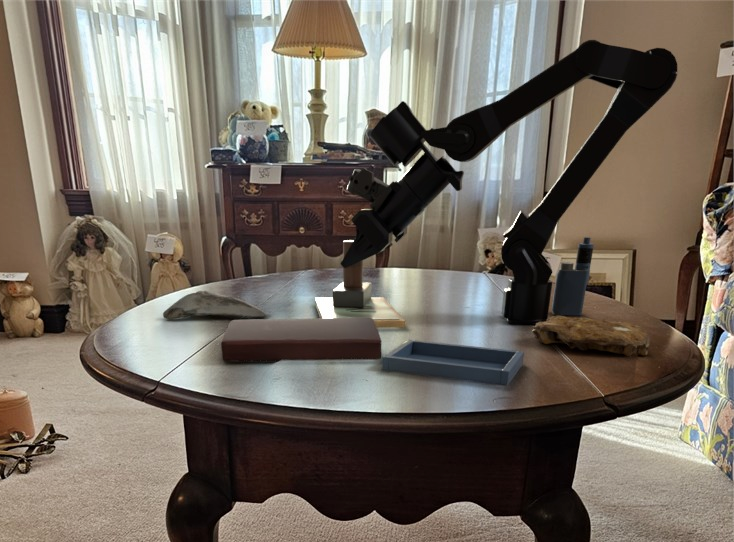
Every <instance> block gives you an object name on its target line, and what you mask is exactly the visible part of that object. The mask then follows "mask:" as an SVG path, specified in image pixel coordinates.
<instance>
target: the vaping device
mask: <svg viewBox="0 0 734 542" xmlns="http://www.w3.org/2000/svg"><path fill="white" fill-rule="evenodd" d="M591 239H592V238H591V237H583V241H582V242H580V243H578V246H577V253H576V259H575V263H574V262H569V261H568V262H567V261H566V262H565V261H563V262H562V261H561V262H560V267H559V268H558V271H557V272H556V275H555V283H554V290H553V296H552V304H551V311H552V315H553V316H565V317H568V316H569V317H576V316H577V317H578V316H583V315H582V313H583V308H584V302H585V296H586V290H587V285H588V284H589V280H590V273H591V265H592V258H593V252H594V248H595V247H594V246H595V244H594V243H591ZM574 264H575V265H574Z"/></svg>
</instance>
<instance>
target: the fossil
mask: <svg viewBox="0 0 734 542" xmlns="http://www.w3.org/2000/svg"><path fill="white" fill-rule="evenodd" d="M217 315H218V316H219V315H225V316H226V315H231V316H240V317H241V316H242V317H254V318H266V317H267V314H266V313H265V312H264V311H263V310H262V309H260V308H258V307H256V306H255V305H252V304H251V303H249V302H247V301H244V300H242V299H241V298H240V299H239V298H236V297H232V296H228V295H222V294H218V293H215V292H211V291H208V290H198V291H196V292H191V293H187V294H186V295H184V296H182V297H181V298H179V299H178V300H177V301H175V302H174V303H173V304H172V305H170V306H169V307H168V308H167V309H166V310H164V311H163V313H162V318H163V319H165V320H177V319H181V318H182V319H183V318H188V317H207V316H217Z"/></svg>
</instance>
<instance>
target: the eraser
mask: <svg viewBox="0 0 734 542" xmlns="http://www.w3.org/2000/svg"><path fill="white" fill-rule="evenodd" d="M353 240H354V239H349V240H348V239H347V240H343V241H342V255H343V256H342V259H343V258H344V256H345V254H346V253H347V251H348V249H349V247H350V246H351V244H352V242H353ZM342 275H343V276H342V282H341V283H340V284H338V285H337V287H335V288H334V289H333V290H332V298H333V307H354V308H364V306H365V305H366V304H367V302H368V301H369V300H370V298H371V297H372V291H373V290H372V288H373V287H372V285H373V283H372V282H364V280H363V279H364V278H363V277H364V276H363V275H364V260H362V261H360V262H358V263H356V264H354V265H351V266H349V267H347V268H343V267H342Z"/></svg>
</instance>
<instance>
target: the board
mask: <svg viewBox="0 0 734 542" xmlns="http://www.w3.org/2000/svg"><path fill="white" fill-rule="evenodd" d="M314 298H315V299H314V304H315V305H314V306H315V309H316V311H317V314H318V317H319V318H373V320H374V322H375V324H376V327H377V329H379V328H406V320H405V318H403V316H402V315H401V314H399V312H398V311H397V310H396V309H395V308H394V307H393V306H392V305H391V304H390V303H389V301H388V300H387V299H386V298H385V297H383V296H381V297H380V296H378V297H377V296H375V297H373V296H371V298H370V300H369V301H368V302H367V304H366V305H365V306H364V308H354V307H333V297H314Z"/></svg>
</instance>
